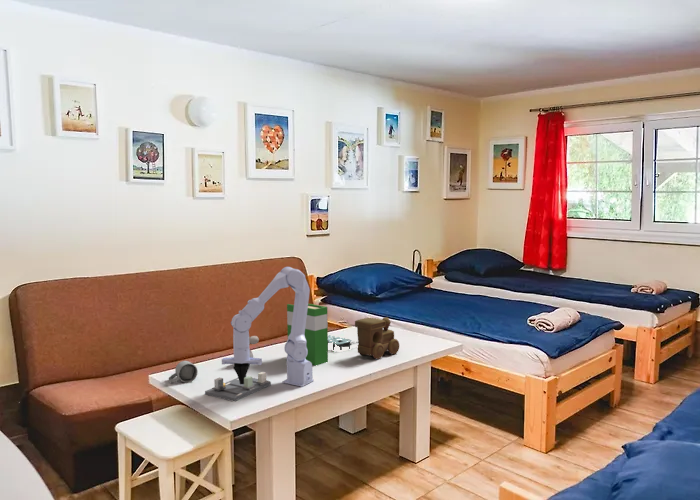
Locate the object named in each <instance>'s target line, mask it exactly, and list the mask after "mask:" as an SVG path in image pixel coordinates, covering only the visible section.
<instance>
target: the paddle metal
mask: <svg viewBox="0 0 700 500" xmlns="http://www.w3.org/2000/svg"><path fill="white" fill-rule="evenodd" d="M213 382H214V387H212V388H211V389H213V390H217V391H221V390H223V389H226V387H224V386H223V383H224V378H223V377H217V378H215V379H214V381H213Z"/></svg>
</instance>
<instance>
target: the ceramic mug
mask: <svg viewBox="0 0 700 500" xmlns="http://www.w3.org/2000/svg"><path fill="white" fill-rule="evenodd" d="M198 374H199V373H198V368H197V366H196V364H194V363H192V362H191V361H188V360H182V361H179V363H177V365H176V367H175V373H173V374H171V375H170V376H169V377H168V382H169V383H170V382H171V383H170V384H173V383H176V382H178V381H181V382H183V383H187V384H188V383H192V382H193V381H194V380H196V378H197V376H198Z"/></svg>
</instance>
